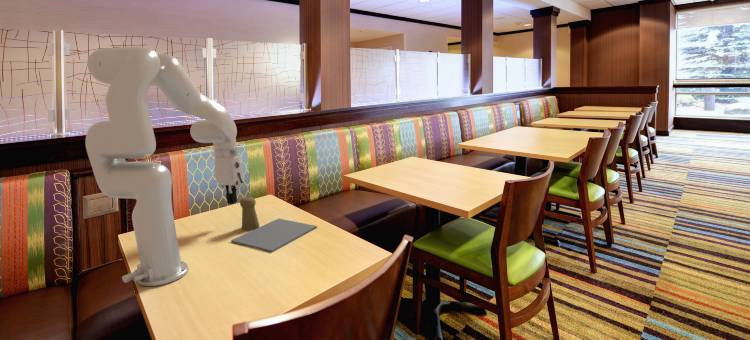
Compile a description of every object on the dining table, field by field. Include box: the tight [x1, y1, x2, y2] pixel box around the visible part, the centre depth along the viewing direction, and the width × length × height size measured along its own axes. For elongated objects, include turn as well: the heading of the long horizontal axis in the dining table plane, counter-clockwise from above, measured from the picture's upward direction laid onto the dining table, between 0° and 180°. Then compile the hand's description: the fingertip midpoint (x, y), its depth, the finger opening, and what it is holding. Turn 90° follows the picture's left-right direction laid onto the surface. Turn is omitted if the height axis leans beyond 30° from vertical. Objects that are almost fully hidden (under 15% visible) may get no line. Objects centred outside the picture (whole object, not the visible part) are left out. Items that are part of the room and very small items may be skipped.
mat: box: [230, 218, 318, 253], centre depth 134 cm, size 22×18×1 cm
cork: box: [239, 196, 260, 232], centre depth 140 cm, size 6×6×11 cm
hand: (232, 202), depth 144 cm, fingers closed
